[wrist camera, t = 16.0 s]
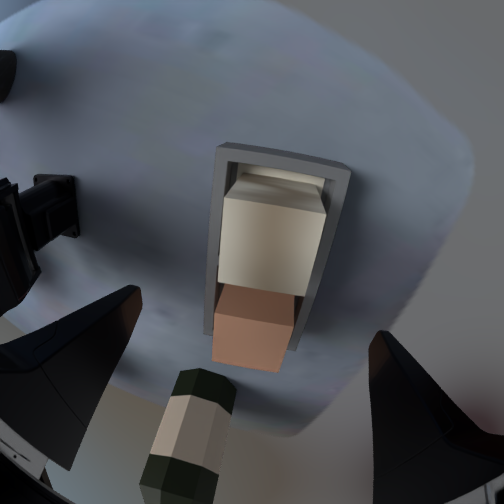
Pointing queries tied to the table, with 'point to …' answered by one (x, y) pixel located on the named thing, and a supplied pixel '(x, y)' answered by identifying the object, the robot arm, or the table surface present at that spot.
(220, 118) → the table surface
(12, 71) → the travel mug
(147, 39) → the table surface
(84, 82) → the table surface
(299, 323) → the pocket frame
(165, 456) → the wine bottle
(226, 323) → the terracotta block
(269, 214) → the ivory block
